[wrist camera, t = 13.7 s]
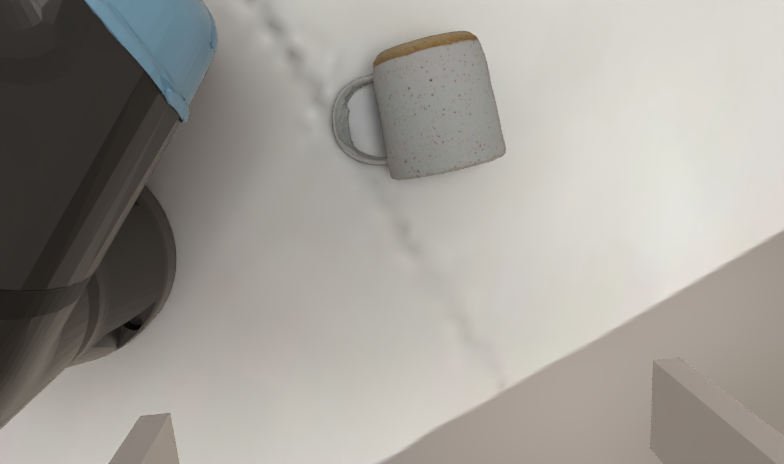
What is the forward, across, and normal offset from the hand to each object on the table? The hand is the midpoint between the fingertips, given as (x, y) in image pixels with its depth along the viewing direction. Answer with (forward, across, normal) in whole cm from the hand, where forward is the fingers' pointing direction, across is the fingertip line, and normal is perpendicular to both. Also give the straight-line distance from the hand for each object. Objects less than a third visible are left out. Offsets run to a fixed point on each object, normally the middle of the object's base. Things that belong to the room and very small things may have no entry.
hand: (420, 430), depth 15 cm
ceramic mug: (+27, +3, +8) cm, 28 cm away
